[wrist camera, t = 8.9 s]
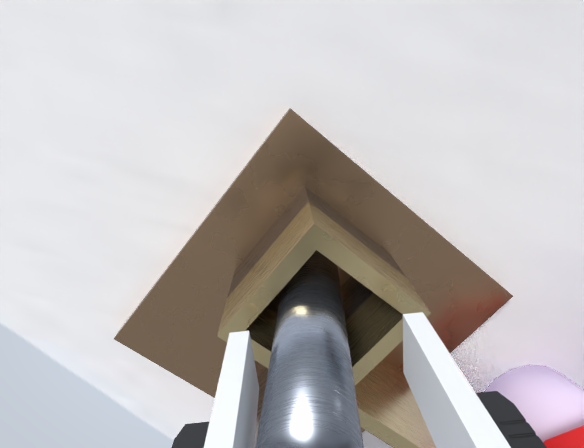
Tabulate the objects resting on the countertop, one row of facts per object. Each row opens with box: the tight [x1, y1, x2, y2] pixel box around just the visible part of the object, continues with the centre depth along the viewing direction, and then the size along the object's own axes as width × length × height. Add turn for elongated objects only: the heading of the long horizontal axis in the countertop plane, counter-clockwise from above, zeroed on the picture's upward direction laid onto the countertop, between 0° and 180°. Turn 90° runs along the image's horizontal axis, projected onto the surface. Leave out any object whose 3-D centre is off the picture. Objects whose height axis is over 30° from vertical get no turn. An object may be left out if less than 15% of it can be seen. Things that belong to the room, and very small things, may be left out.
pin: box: [256, 250, 364, 448], centre depth 16 cm, size 3×3×13 cm
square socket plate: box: [114, 109, 513, 448], centre depth 21 cm, size 18×18×8 cm
